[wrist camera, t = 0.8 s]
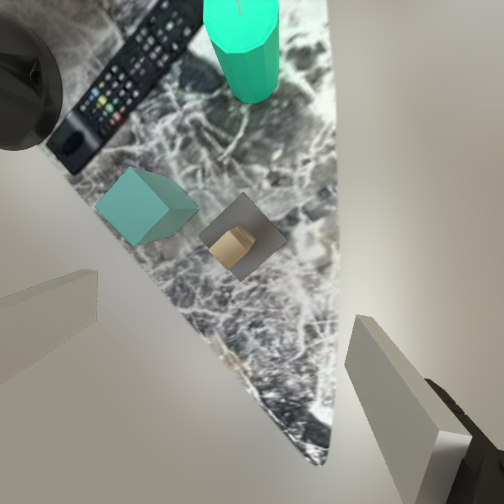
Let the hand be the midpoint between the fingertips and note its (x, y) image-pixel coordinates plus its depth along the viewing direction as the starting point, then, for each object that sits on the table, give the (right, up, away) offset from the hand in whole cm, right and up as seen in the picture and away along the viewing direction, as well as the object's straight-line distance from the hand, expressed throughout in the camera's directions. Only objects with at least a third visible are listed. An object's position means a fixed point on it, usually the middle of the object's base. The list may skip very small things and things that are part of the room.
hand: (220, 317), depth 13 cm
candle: (+2, +24, +17) cm, 29 cm away
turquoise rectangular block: (-9, +9, +21) cm, 24 cm away
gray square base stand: (0, +5, +21) cm, 21 cm away
